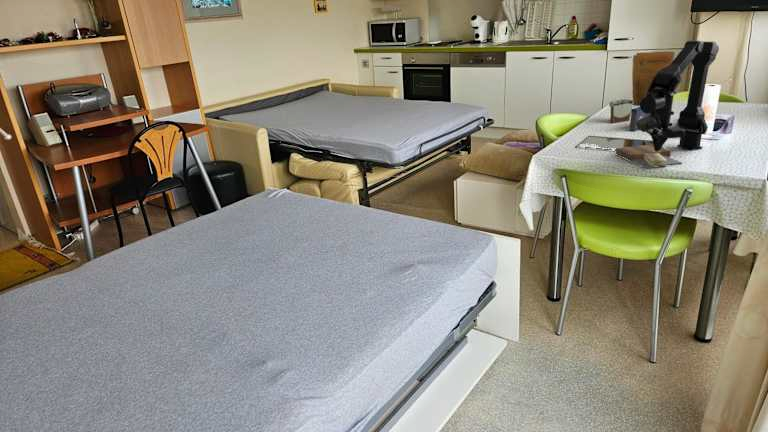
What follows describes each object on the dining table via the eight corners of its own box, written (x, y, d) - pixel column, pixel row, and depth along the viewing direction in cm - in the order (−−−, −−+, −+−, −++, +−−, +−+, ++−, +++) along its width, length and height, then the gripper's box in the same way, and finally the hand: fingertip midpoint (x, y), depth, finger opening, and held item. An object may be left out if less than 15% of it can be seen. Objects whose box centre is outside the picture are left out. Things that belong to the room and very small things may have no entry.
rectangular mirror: (575, 148, 213) (649, 155, 198) (575, 146, 213) (649, 153, 197) (588, 137, 227) (658, 143, 212) (588, 135, 227) (659, 141, 211)
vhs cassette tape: (650, 123, 241) (653, 102, 237) (657, 124, 239) (659, 102, 235) (627, 130, 232) (630, 108, 228) (634, 131, 230) (636, 109, 226)
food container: (622, 118, 254) (624, 98, 250) (631, 120, 249) (634, 99, 245) (601, 121, 251) (603, 101, 247) (610, 124, 245) (612, 103, 242)
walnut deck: (653, 150, 202) (654, 144, 201) (670, 156, 193) (671, 150, 192) (615, 154, 200) (616, 148, 199) (630, 161, 191) (631, 155, 190)
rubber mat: (665, 157, 193) (665, 155, 193) (681, 164, 185) (681, 162, 184) (630, 161, 191) (630, 160, 191) (645, 168, 183) (645, 166, 183)
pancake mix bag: (666, 107, 269) (674, 51, 258) (627, 106, 279) (633, 52, 268) (668, 105, 274) (676, 50, 263) (629, 103, 284) (635, 50, 273)
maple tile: (657, 158, 191) (658, 153, 190) (666, 165, 182) (667, 160, 182) (643, 158, 191) (644, 153, 191) (651, 165, 183) (652, 160, 182)
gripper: (626, 106, 190) (621, 147, 196) (658, 115, 172) (652, 160, 178) (653, 103, 191) (648, 144, 197) (688, 112, 174) (681, 157, 180)
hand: (656, 151), depth 188 cm, fingers closed
